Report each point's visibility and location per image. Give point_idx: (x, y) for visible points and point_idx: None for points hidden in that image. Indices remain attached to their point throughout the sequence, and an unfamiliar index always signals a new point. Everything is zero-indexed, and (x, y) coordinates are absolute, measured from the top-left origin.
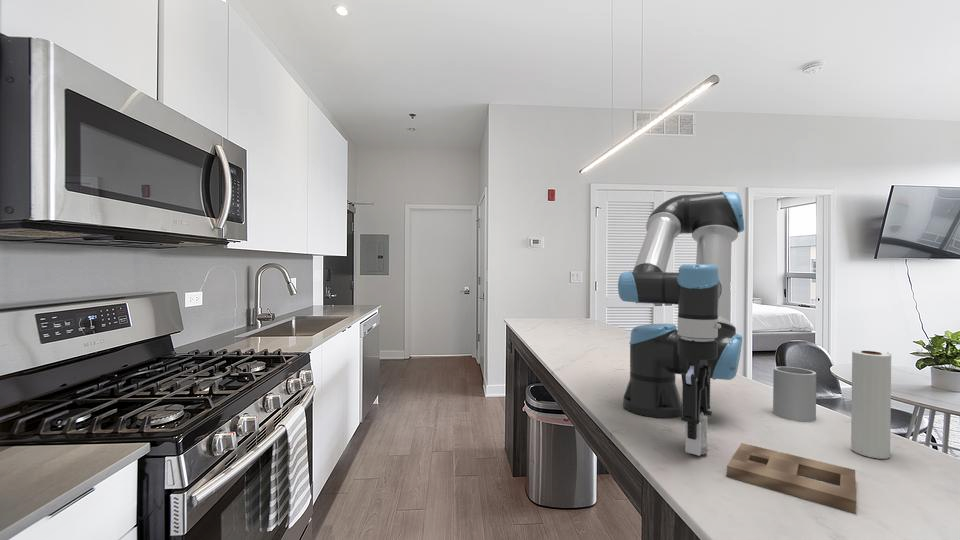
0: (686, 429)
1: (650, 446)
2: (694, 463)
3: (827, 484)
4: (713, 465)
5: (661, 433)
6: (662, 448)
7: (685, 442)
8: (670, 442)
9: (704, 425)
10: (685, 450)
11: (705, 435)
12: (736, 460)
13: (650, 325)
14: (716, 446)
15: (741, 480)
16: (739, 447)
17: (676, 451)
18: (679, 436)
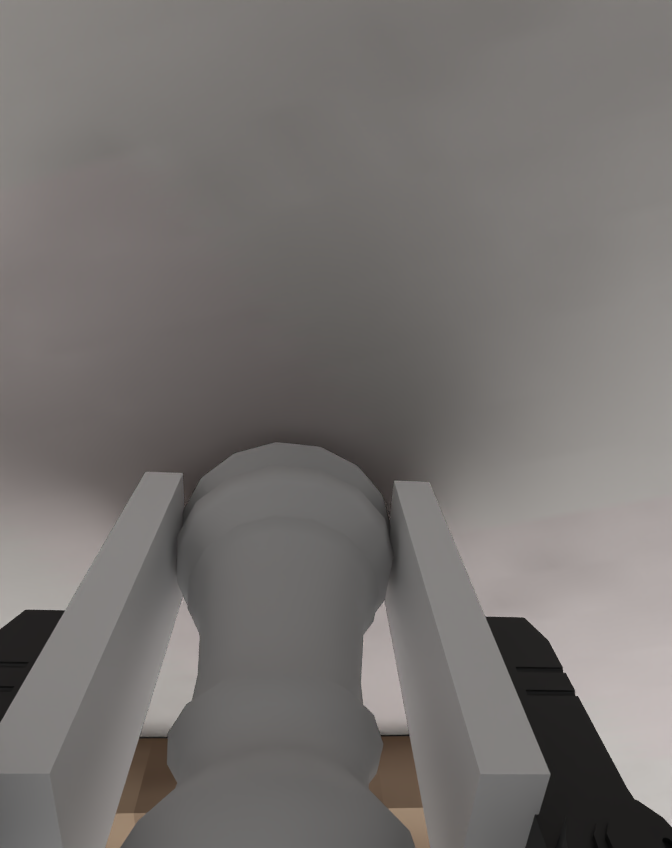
0: (49, 650)
1: (116, 81)
2: (41, 547)
3: None
4: None
5: (646, 80)
6: (164, 226)
7: (235, 478)
8: (402, 255)
9: (418, 763)
10: (142, 478)
11: (397, 667)
12: (123, 838)
13: None
14: (544, 600)
15: None
16: (423, 812)
17: (192, 368)
18: (642, 293)
